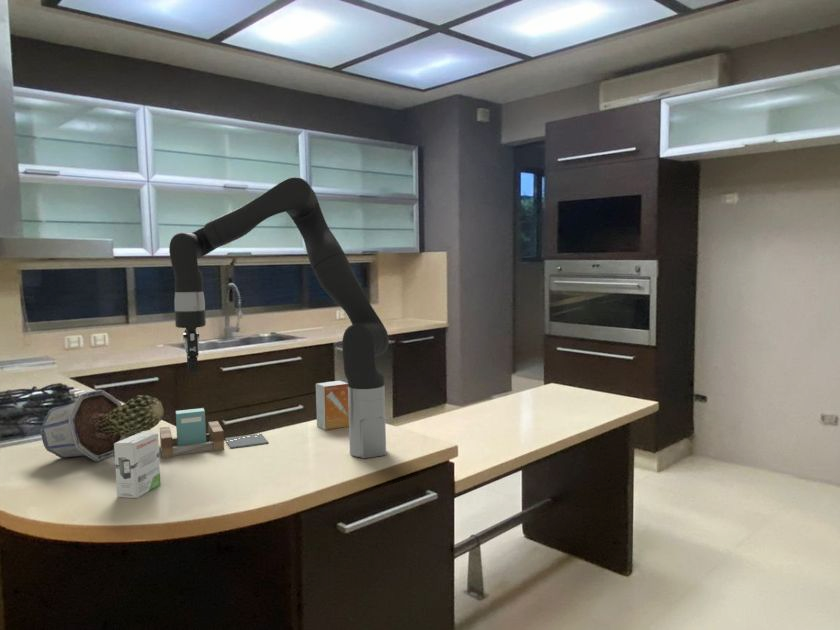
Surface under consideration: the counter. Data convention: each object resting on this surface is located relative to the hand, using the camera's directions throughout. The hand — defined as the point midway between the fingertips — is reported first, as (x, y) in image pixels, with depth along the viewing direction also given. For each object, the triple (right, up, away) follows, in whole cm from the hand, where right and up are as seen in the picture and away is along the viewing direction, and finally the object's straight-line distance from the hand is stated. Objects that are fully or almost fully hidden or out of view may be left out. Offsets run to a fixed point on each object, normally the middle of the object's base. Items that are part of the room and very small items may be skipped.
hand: (192, 369), depth 164 cm
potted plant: (-19, -22, -7) cm, 30 cm away
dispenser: (0, -21, 0) cm, 21 cm away
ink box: (0, -24, -31) cm, 39 cm away
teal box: (0, -21, 0) cm, 21 cm away
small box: (+35, -19, +20) cm, 44 cm away
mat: (+13, -20, +5) cm, 25 cm away
